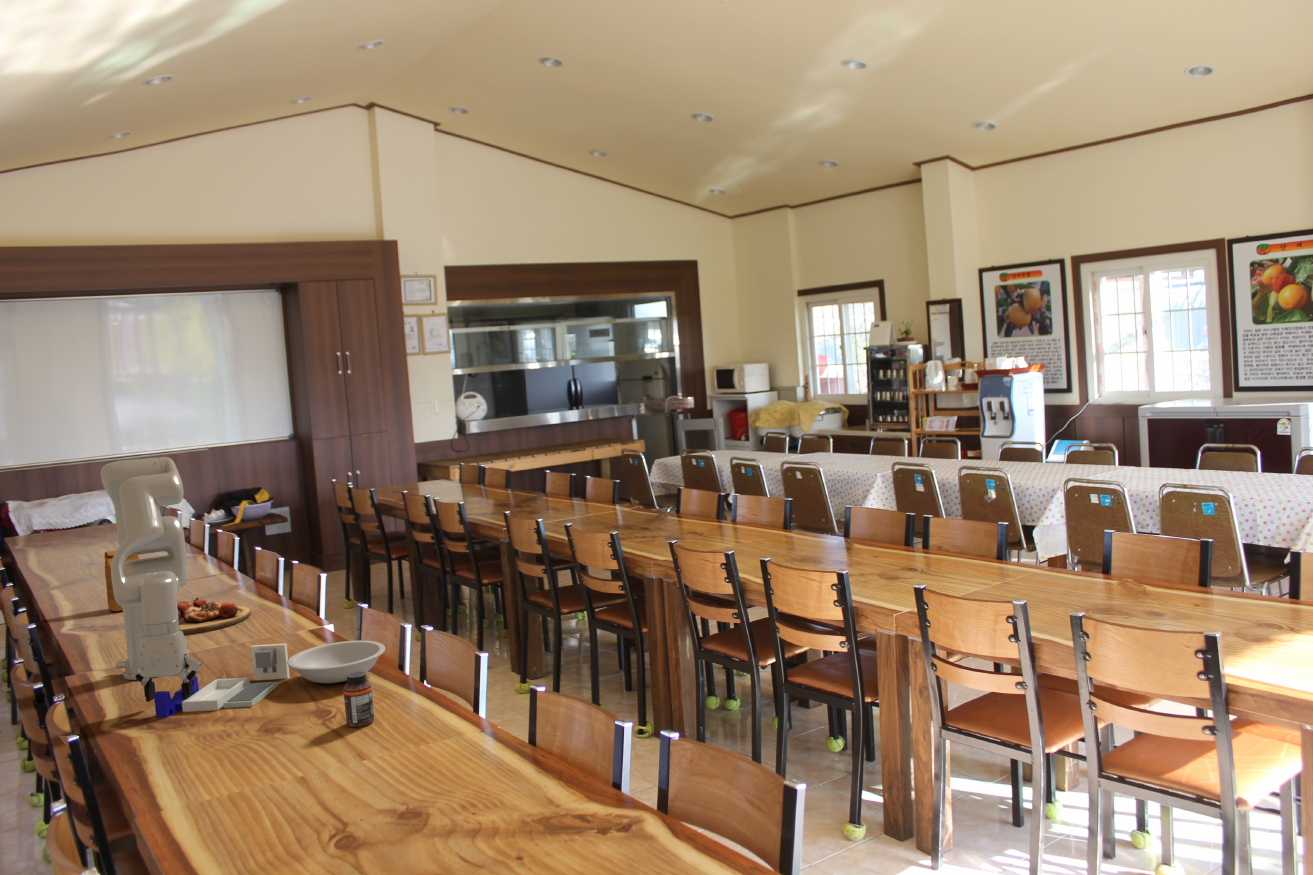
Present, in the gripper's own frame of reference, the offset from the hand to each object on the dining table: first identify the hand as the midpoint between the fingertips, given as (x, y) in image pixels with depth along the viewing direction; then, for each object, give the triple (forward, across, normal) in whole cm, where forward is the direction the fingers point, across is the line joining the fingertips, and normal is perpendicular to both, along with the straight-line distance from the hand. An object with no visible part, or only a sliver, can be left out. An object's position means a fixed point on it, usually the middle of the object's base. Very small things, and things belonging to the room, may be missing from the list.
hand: (169, 698), depth 230 cm
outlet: (+2, +17, +17) cm, 24 cm away
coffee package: (+1, -76, +112) cm, 135 cm away
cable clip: (+3, +1, 0) cm, 3 cm away
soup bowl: (+3, +36, +16) cm, 39 cm away
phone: (+2, +18, +5) cm, 18 cm away
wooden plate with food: (+2, -36, +85) cm, 92 cm away
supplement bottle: (+3, +52, -17) cm, 55 cm away
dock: (+2, +9, +5) cm, 11 cm away
